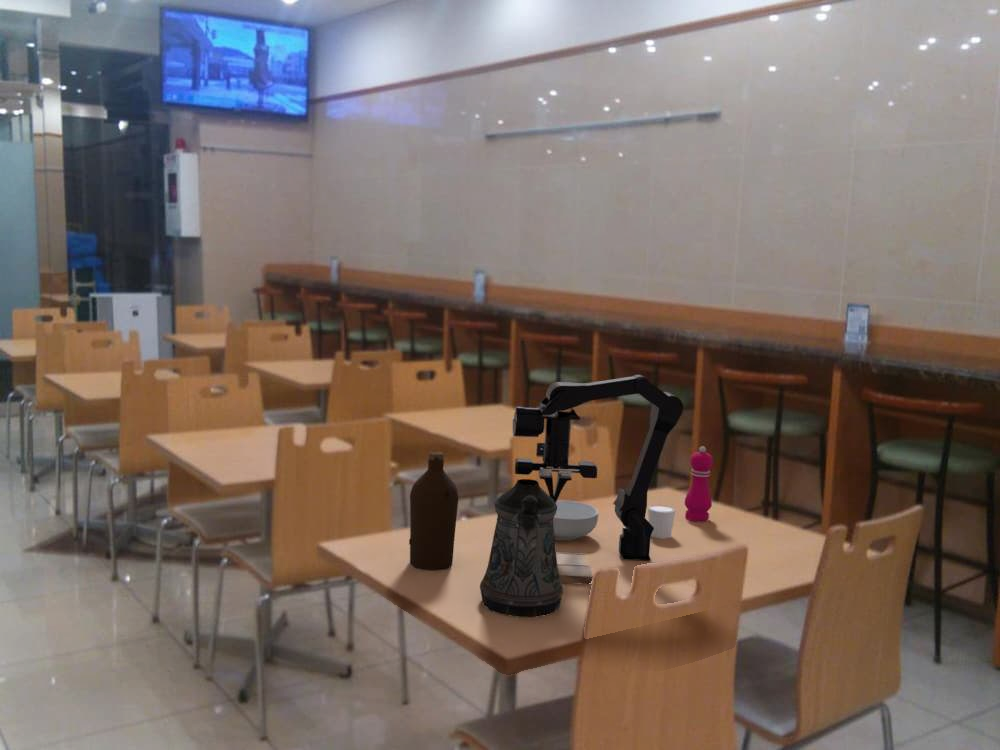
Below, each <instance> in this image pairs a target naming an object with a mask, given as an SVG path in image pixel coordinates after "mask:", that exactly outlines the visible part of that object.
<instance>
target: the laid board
mask: <svg viewBox="0 0 1000 750" xmlns="http://www.w3.org/2000/svg"><path fill="white" fill-rule="evenodd" d="M557 566H558V572H559V577H560V581H561V584H573V583H581V584H580V585H590V584H589V583H591V581H592V578H593V579H594V575H593V573H592V569H591V566H590V565H589V566H588V565H587V566H575V565H557Z"/></svg>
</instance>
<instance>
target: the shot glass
mask: <svg viewBox="0 0 1000 750" xmlns="http://www.w3.org/2000/svg"><path fill="white" fill-rule="evenodd" d="M647 510H648V513H647V514H648V515H647V516H648V517H647V518H648V522H649V523H650V524H651V525H652V526H653V527H654V530H653V532H652V534H651V538H655V539H664V540H665V539H670V538H671V537H672V531H673V526H674V521H675V515H676V509H675V508H674V507H671V506H667V505H661V504H660V505H656V504H655V505H650V506H648V507H647Z"/></svg>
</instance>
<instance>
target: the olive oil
mask: <svg viewBox="0 0 1000 750" xmlns="http://www.w3.org/2000/svg"><path fill="white" fill-rule="evenodd" d="M428 456H429V458H428V459H427V460H428V461H427V462H428V463H427V464H428V465H427V470H426V471H425V472H424V473H423V474H422V475H420V477H419V478H418V479H417V480H416V481H415V482H414V483H413V485H412V487H411V490H410V492H409V493H410V494H409V540H408V541H409V542H408V545H409V563H410V565H411V566H412V567H414V568H417V569H419V570H426V571H441V570H442V571H443V570H446V569H448V568H451V567H452V565H453V562H454V561H453V559H454V547H455V537H456V536H455V535H456V528H457V527H456V525H457V518H458V517H457V516H458V507H459V498H460V497H459V491H458V487H457V485H456V484H455V483H454V481H453V479H451V478H450V476H449V475H448V474H447V473H446V471H445V470H444V463H445V460H444V452H442V451H436V450H435V451H429V454H428Z"/></svg>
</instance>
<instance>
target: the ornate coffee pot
mask: <svg viewBox="0 0 1000 750" xmlns="http://www.w3.org/2000/svg"><path fill="white" fill-rule="evenodd" d="M494 501H495V502H494V509H495V513H496V514H497V517H496V523H495V528H494V532H493V537H492V543H491V548H490V552H489V558H488V564H487V567H486V570H485V573H484V576H483V578H482V579H481V582H480V585H479V589H480V594H481V601H482V604H483V607H485V606H486V607H485V608H487V609H488V610H489V609H490V611H491V610H492V611H491V612H494V611H495V612H494V613H497V612H498V613H497V614H500V613H501V614H500V615H502V614H504V615H503V616H509V615H511V617H516V616H517V618H535V617H536V616H538V617H543V615H545V616H548V615H551V614H553V613H556V612H557V611H558V609H559V608H560V605H561V602H562V598H563V593H564V588H563V583H561V581H560V577H559V572H558V566H557V557H556V552H557V550H556V539H555V537H554V525H553V518H554V516H555V514H556V511H557V505H556V503H555V501H554V500H553V499H552V498H551V497H550V496H549V493H547V492H546V491H545V490H544V489H543V488H542V487H541V486H540V484H539V481H538V480H536V479H532V478H529V479H528V478H527V479H526V478H521V479H517V480H516V483H515V484H514V486H512V487H511V488H509V490H506V491H505V492H503V493H502V494H501V495H499V496H498V498H497V499H495V500H494ZM556 610H557V611H556ZM555 611H556V612H555ZM550 613H551V614H550ZM547 614H548V615H547Z"/></svg>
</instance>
